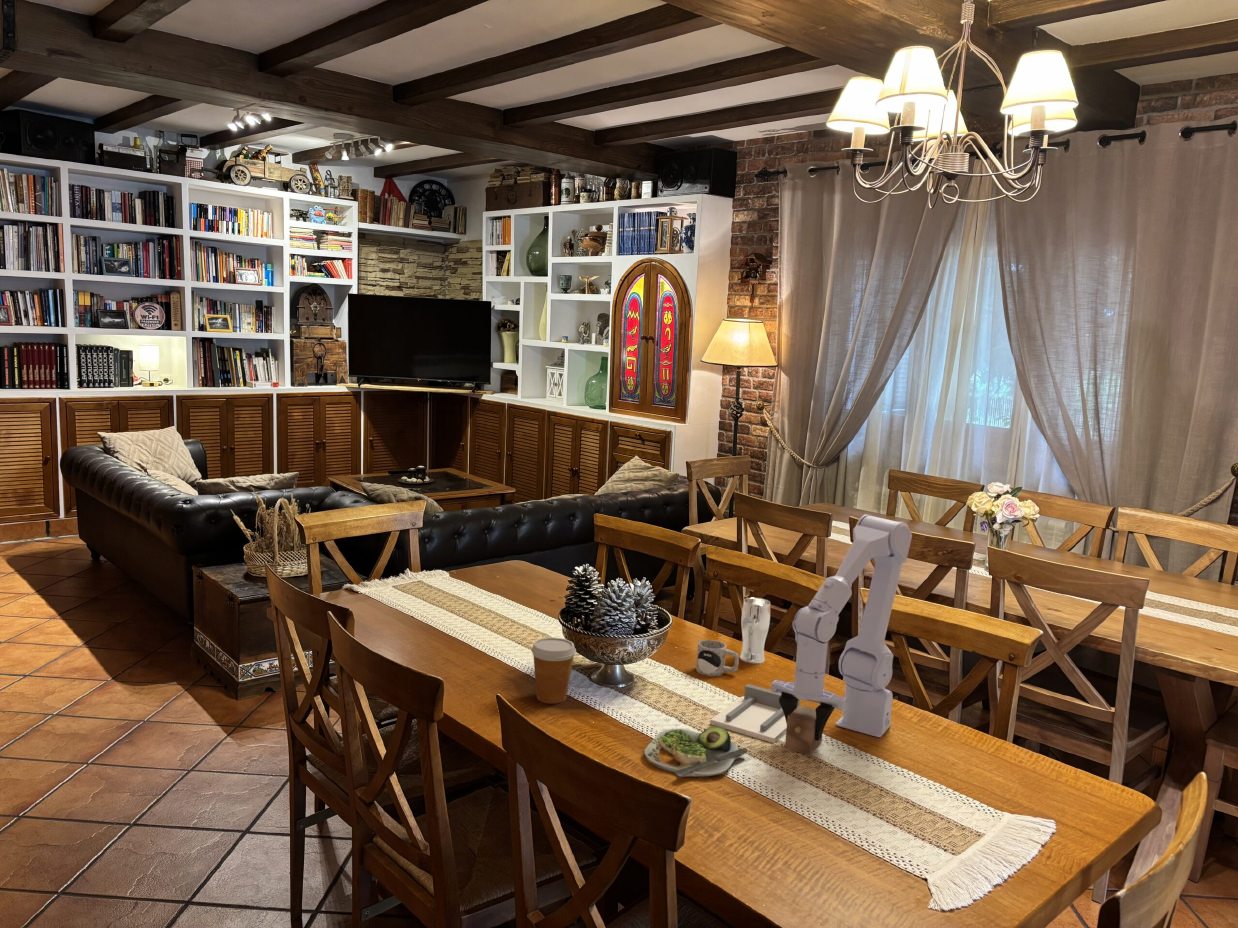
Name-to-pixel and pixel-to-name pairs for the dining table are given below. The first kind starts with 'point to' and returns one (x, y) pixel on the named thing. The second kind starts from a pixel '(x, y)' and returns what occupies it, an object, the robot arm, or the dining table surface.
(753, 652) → the beer glass
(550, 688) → the disposable coffee cup
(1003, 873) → the dining table surface
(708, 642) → the mug
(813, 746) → the cabinet block
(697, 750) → the avocado toast plate
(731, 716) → the cleat board
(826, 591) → the robot arm
